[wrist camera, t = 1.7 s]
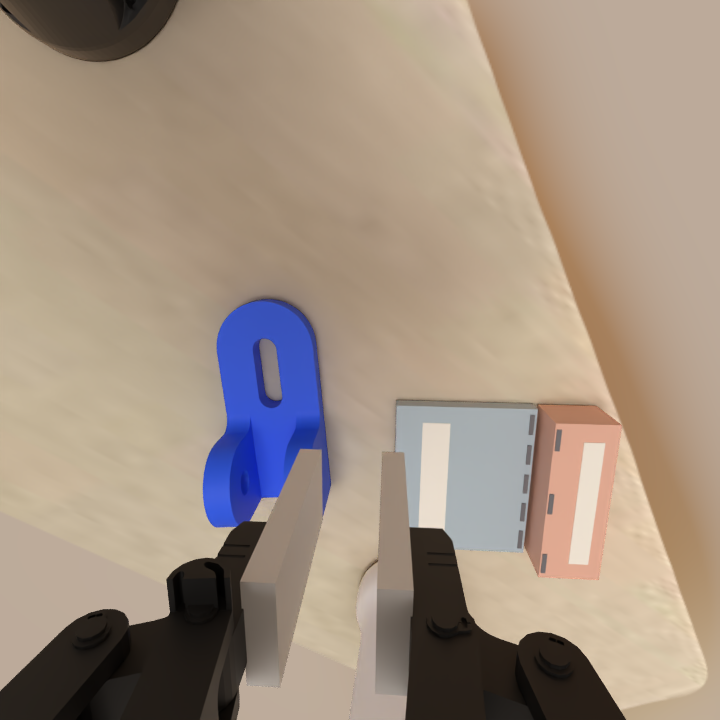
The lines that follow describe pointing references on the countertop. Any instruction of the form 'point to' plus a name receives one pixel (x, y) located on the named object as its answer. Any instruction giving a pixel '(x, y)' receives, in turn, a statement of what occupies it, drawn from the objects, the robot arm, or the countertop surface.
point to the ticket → (468, 469)
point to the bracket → (263, 411)
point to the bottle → (371, 661)
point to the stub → (570, 490)
